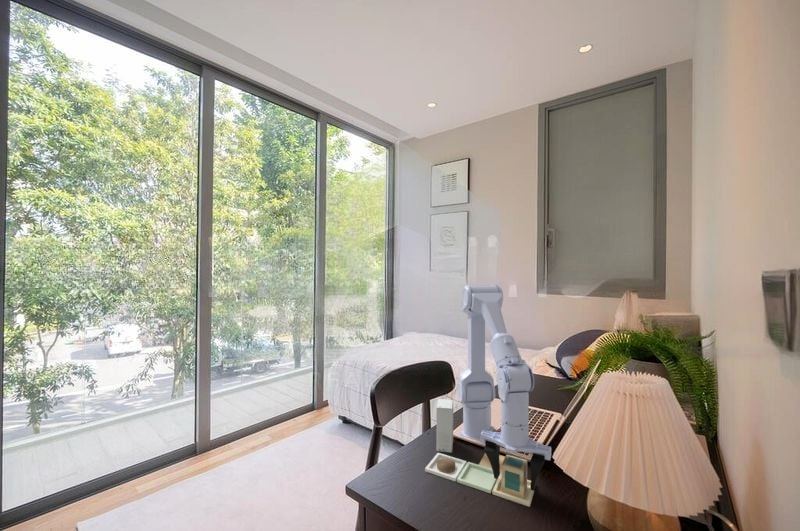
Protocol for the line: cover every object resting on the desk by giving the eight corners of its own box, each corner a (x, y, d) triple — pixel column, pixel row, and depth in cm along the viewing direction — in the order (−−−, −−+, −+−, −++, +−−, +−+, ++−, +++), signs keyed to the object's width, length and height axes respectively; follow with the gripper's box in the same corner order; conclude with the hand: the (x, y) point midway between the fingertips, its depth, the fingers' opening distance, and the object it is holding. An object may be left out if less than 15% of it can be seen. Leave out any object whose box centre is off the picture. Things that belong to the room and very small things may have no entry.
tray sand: (501, 476, 81) (501, 471, 81) (535, 487, 77) (535, 482, 77) (492, 496, 74) (492, 490, 74) (529, 509, 70) (529, 503, 70)
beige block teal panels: (506, 480, 78) (506, 453, 78) (527, 486, 76) (527, 459, 76) (501, 492, 74) (501, 464, 74) (523, 499, 72) (523, 470, 72)
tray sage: (468, 466, 85) (468, 461, 85) (499, 476, 81) (499, 471, 81) (456, 484, 78) (457, 479, 78) (490, 495, 74) (490, 490, 74)
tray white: (438, 457, 89) (438, 452, 89) (466, 466, 85) (466, 461, 85) (425, 473, 82) (425, 468, 82) (455, 483, 78) (455, 478, 78)
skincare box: (452, 454, 90) (452, 408, 90) (436, 452, 91) (435, 407, 90) (453, 442, 96) (453, 399, 95) (438, 440, 97) (438, 398, 96)
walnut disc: (441, 460, 86) (441, 456, 86) (458, 465, 84) (458, 461, 84) (434, 469, 83) (434, 465, 83) (451, 475, 80) (451, 471, 80)
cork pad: (486, 453, 90) (486, 451, 90) (513, 461, 87) (513, 458, 87) (478, 467, 84) (478, 465, 84) (507, 476, 81) (507, 474, 81)
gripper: (476, 420, 75) (476, 481, 76) (548, 437, 68) (548, 505, 68) (485, 407, 81) (485, 464, 82) (552, 422, 74) (552, 484, 74)
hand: (514, 481), depth 75 cm, fingers open, 7 cm apart
